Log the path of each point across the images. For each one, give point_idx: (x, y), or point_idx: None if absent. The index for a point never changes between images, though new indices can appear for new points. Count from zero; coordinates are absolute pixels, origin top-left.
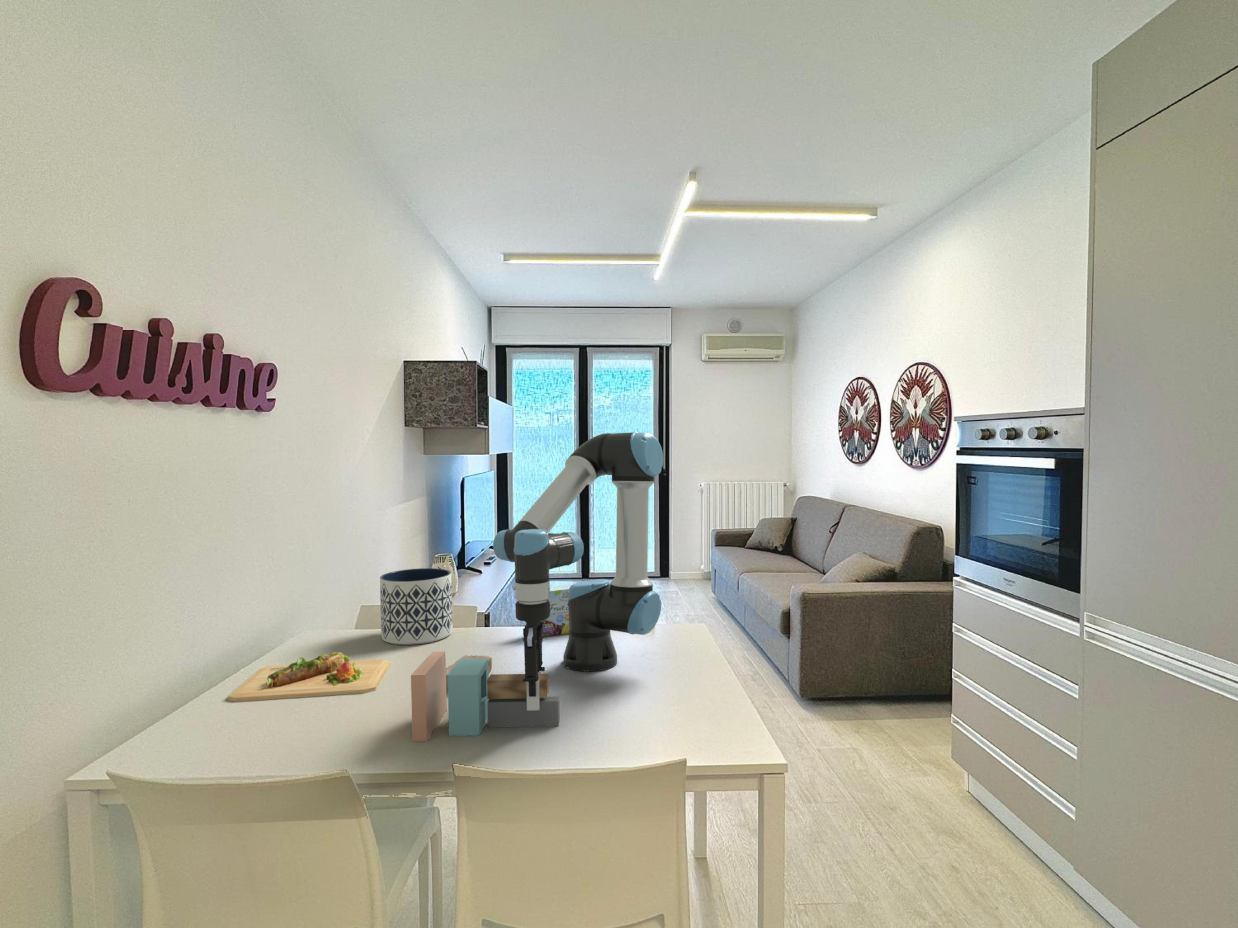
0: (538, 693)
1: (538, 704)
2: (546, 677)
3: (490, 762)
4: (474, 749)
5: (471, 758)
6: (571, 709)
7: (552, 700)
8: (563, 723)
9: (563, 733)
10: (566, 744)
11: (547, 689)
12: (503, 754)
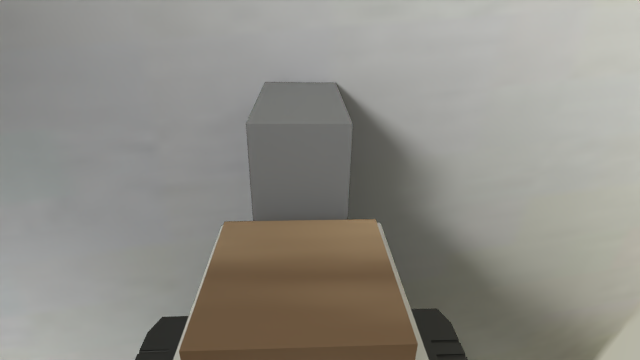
0: (405, 302)
1: (388, 248)
2: (336, 354)
3: (623, 297)
4: (505, 354)
5: (569, 349)
6: (85, 20)
7: (331, 167)
8: (301, 57)
9: (434, 46)
10: (575, 18)
11: (343, 253)
12: (576, 270)
